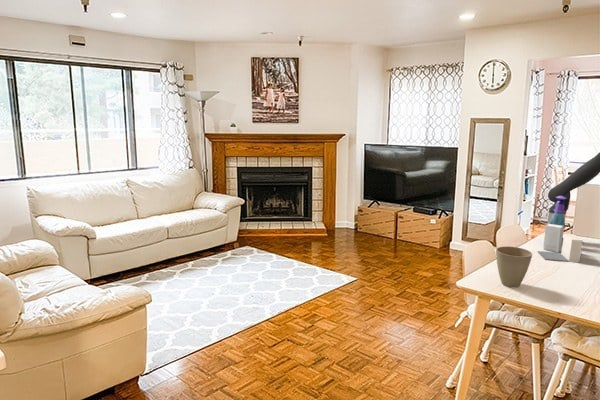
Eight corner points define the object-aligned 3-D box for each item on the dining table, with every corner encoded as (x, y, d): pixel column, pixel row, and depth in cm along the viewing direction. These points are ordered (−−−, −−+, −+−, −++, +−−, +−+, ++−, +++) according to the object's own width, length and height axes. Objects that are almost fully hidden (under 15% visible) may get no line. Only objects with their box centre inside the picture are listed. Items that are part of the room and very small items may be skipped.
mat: (537, 252, 253) (537, 251, 253) (559, 253, 251) (559, 252, 251) (545, 259, 240) (545, 258, 240) (568, 261, 238) (568, 260, 237)
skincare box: (561, 251, 256) (565, 225, 253) (558, 253, 252) (561, 227, 249) (545, 247, 262) (549, 223, 259) (542, 249, 258) (545, 224, 255)
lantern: (549, 240, 276) (555, 193, 270) (569, 245, 267) (576, 196, 261) (539, 244, 268) (546, 195, 262) (560, 249, 259) (567, 198, 253)
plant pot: (497, 276, 215) (501, 244, 211) (531, 284, 205) (536, 250, 202) (488, 285, 203) (491, 251, 200) (523, 293, 194) (527, 258, 191)
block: (561, 254, 250) (564, 233, 248) (571, 255, 249) (574, 234, 246) (568, 261, 238) (572, 239, 236) (579, 262, 237) (582, 240, 235)
